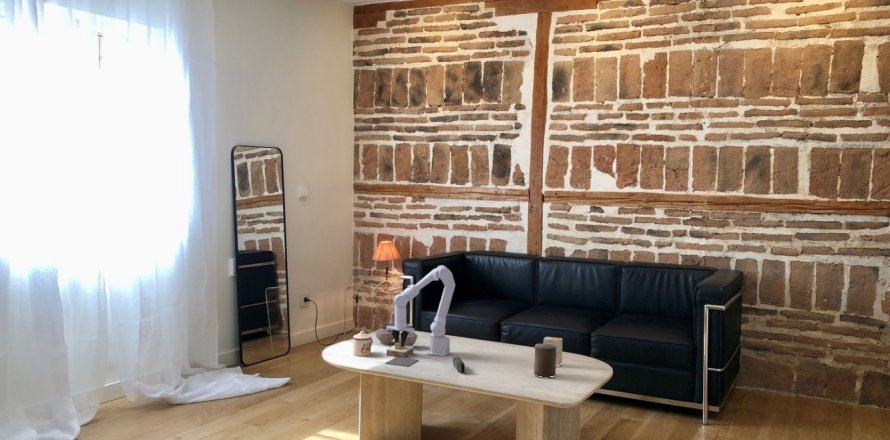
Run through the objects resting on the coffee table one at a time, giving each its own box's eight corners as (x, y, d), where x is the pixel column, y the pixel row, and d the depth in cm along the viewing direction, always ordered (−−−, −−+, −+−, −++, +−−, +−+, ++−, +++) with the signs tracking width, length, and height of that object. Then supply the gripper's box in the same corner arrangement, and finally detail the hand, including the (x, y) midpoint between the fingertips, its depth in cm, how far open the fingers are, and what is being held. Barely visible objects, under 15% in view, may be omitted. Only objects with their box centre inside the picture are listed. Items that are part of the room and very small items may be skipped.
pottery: (409, 351, 378) (409, 328, 377) (370, 344, 391) (370, 321, 390) (422, 346, 387) (422, 324, 386) (383, 340, 401) (384, 318, 400)
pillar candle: (550, 379, 332) (551, 346, 331) (530, 375, 337) (531, 343, 336) (558, 374, 340) (560, 342, 339) (539, 371, 345) (540, 339, 344)
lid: (413, 349, 373) (413, 340, 373) (404, 353, 364) (405, 345, 364) (395, 347, 377) (395, 338, 377) (386, 351, 368) (386, 343, 367)
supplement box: (562, 365, 356) (563, 338, 355) (559, 367, 352) (560, 340, 351) (545, 362, 359) (546, 336, 358) (542, 365, 355) (543, 338, 354)
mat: (418, 360, 360) (418, 359, 360) (408, 366, 349) (408, 365, 349) (396, 357, 365) (396, 356, 365) (385, 363, 354) (385, 362, 354)
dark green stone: (452, 356, 351) (461, 364, 337) (458, 356, 352) (467, 364, 337) (452, 367, 351) (461, 375, 337) (458, 366, 352) (467, 374, 338)
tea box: (413, 354, 373) (413, 348, 373) (404, 359, 364) (404, 352, 364) (395, 352, 377) (395, 345, 377) (386, 356, 368) (386, 350, 368)
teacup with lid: (362, 357, 364) (362, 334, 363) (349, 354, 370) (349, 331, 369) (378, 352, 374) (379, 329, 373) (365, 349, 379) (365, 327, 378)
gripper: (383, 318, 368) (383, 345, 369) (410, 321, 363) (409, 349, 364) (390, 316, 375) (389, 342, 376) (416, 318, 369) (416, 345, 370)
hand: (400, 345), depth 370 cm, fingers closed on lid, 2 cm apart
